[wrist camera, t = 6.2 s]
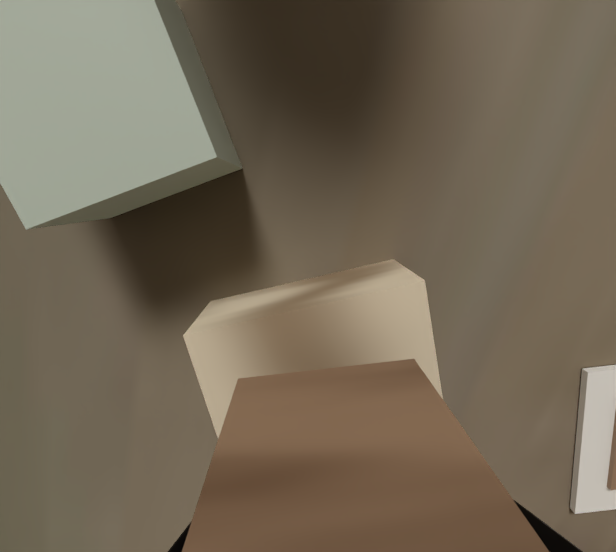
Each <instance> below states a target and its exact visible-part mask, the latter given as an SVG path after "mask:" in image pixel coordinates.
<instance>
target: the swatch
mask: <svg viewBox="0 0 616 552" xmlns="http://www.w3.org/2000/svg"><path fill="white" fill-rule="evenodd" d="M570 509H571V510H572V511H573V512H574V513H575V514H578V513H587V512H595V511H604V510H613V509H616V365H610V366H601V367H592V368H583V369H582V374H581V385H580V397H579V408H578V420H577V431H576V443H575V454H574V465H573V477H572V488H571V500H570Z"/></svg>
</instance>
